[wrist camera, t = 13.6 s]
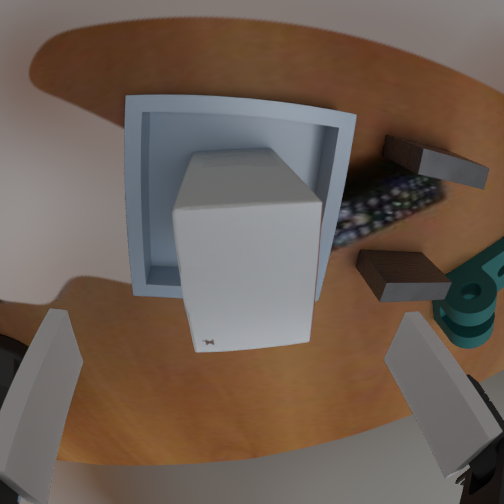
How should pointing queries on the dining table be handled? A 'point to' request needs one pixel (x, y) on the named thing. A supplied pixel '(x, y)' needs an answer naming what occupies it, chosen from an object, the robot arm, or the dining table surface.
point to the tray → (216, 139)
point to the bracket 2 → (472, 298)
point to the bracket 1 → (412, 263)
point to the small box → (246, 250)
